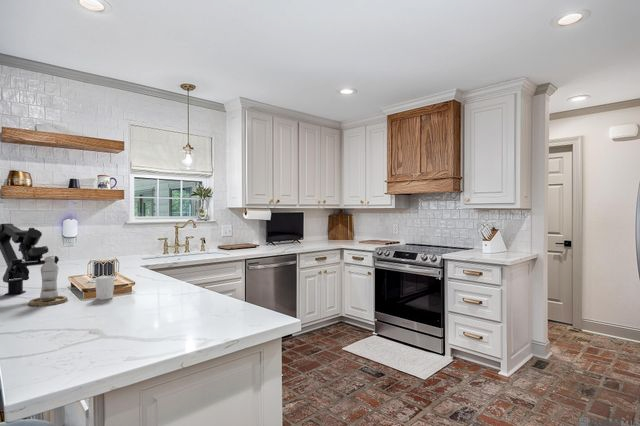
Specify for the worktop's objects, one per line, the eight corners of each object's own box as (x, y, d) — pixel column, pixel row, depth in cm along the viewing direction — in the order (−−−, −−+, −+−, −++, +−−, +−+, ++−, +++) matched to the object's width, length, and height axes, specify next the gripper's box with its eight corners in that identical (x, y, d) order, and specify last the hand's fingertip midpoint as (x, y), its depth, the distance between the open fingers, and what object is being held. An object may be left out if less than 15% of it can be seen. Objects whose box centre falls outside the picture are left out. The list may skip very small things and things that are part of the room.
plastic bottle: (46, 299, 170) (47, 256, 169) (61, 299, 170) (61, 256, 170) (36, 302, 163) (36, 257, 163) (51, 302, 163) (52, 257, 163)
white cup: (91, 299, 173) (91, 278, 172) (105, 295, 180) (105, 275, 180) (104, 300, 170) (104, 279, 170) (118, 296, 178) (118, 276, 178)
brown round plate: (36, 299, 171) (36, 296, 171) (72, 297, 175) (72, 294, 175) (22, 307, 157) (22, 304, 157) (61, 305, 162) (61, 301, 162)
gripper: (10, 242, 165) (21, 268, 159) (57, 239, 181) (68, 263, 175) (2, 258, 169) (13, 284, 163) (49, 254, 185) (60, 278, 179)
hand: (40, 277), depth 170 cm, fingers open, 9 cm apart
